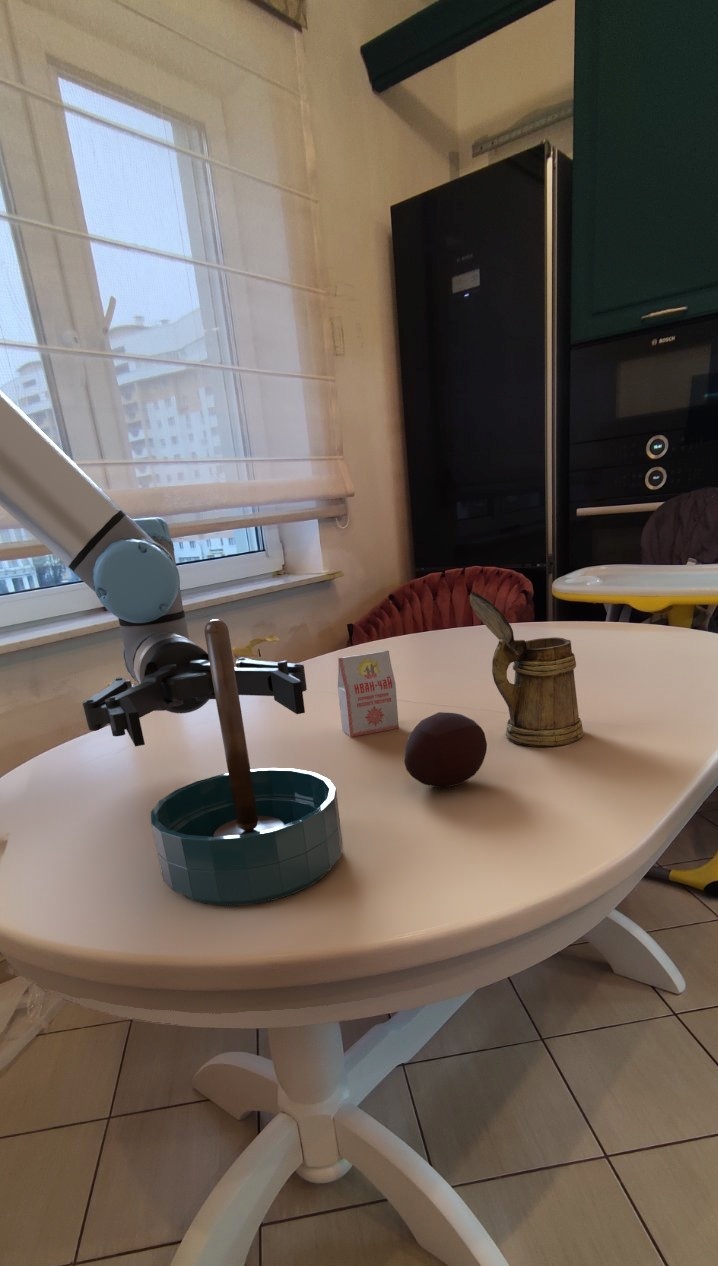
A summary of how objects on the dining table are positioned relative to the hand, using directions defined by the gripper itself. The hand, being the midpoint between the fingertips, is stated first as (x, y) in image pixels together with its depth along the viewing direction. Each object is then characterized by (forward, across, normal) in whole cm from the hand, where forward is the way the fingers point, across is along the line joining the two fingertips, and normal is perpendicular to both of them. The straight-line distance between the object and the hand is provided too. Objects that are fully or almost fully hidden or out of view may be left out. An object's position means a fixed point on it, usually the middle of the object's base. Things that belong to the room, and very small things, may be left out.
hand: (221, 713), depth 59 cm
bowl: (+2, 0, -13) cm, 13 cm away
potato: (-4, -23, -13) cm, 26 cm away
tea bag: (-28, -25, -13) cm, 40 cm away
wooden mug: (-11, -38, -13) cm, 42 cm away
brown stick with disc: (+2, 0, -12) cm, 12 cm away
